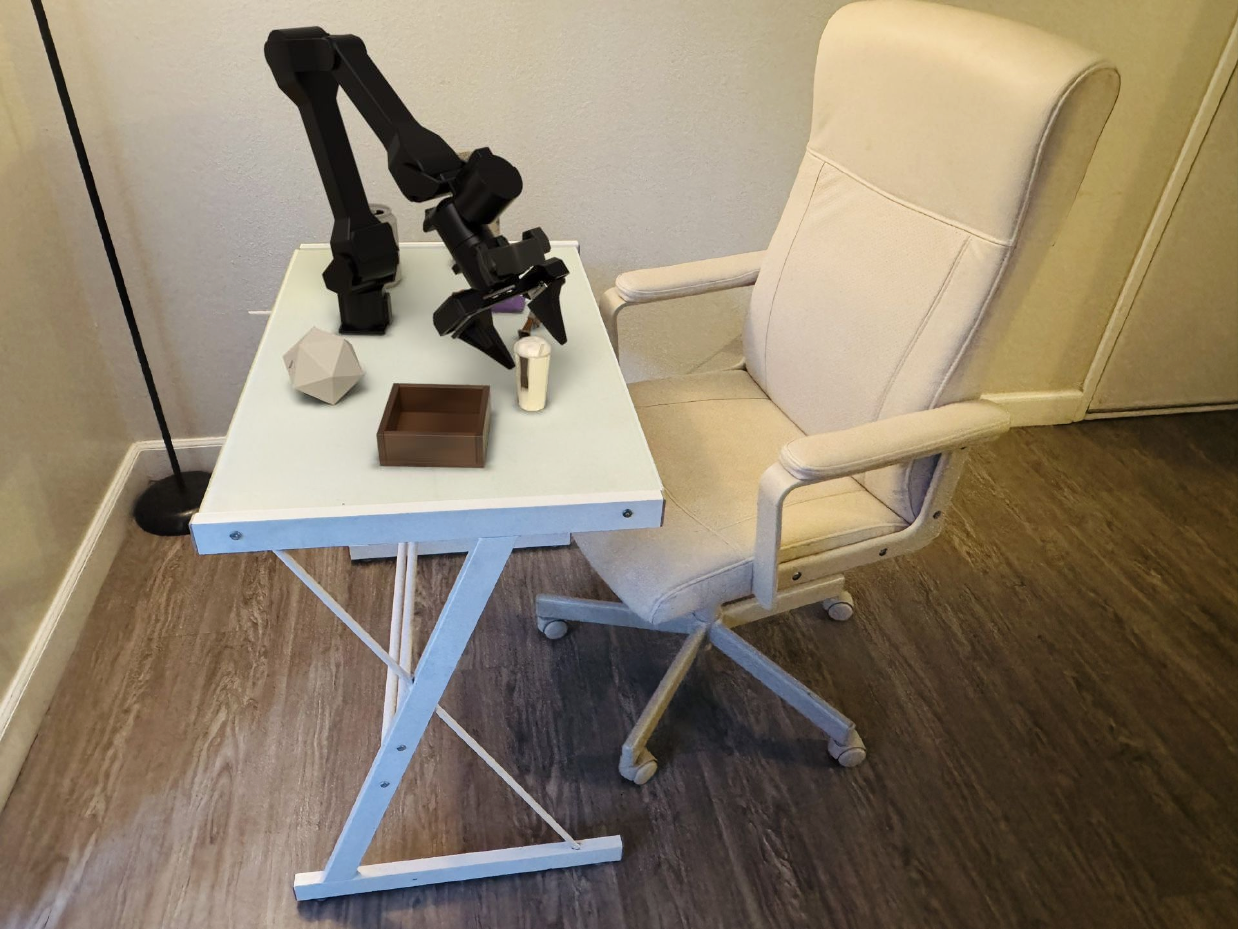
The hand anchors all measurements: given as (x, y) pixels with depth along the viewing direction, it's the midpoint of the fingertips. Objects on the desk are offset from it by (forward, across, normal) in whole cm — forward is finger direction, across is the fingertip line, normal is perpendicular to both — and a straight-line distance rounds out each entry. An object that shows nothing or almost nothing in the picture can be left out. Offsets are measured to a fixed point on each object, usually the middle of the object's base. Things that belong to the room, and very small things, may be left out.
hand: (539, 355), depth 105 cm
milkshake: (+5, 0, +6) cm, 8 cm away
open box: (+2, -13, +8) cm, 16 cm away
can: (-27, +11, +38) cm, 48 cm away
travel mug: (-23, +28, +34) cm, 50 cm away
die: (-10, -16, +21) cm, 28 cm away
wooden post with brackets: (-6, +16, +17) cm, 24 cm away
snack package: (-14, +17, +24) cm, 33 cm away
